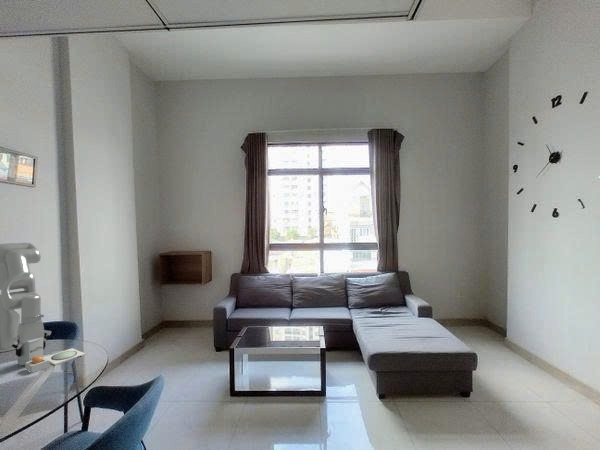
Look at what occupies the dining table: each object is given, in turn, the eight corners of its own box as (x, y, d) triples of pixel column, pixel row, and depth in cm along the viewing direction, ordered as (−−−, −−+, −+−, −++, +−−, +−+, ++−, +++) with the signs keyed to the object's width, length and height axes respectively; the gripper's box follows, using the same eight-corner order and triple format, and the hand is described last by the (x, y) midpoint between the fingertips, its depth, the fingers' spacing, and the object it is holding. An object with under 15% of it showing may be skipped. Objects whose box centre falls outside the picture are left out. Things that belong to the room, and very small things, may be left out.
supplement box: (28, 367, 153) (28, 342, 153) (17, 365, 154) (17, 340, 154) (43, 360, 160) (43, 336, 160) (32, 359, 162) (32, 335, 161)
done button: (30, 364, 151) (30, 358, 151) (40, 360, 154) (40, 355, 154) (34, 366, 149) (34, 360, 149) (44, 362, 152) (44, 356, 152)
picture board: (42, 359, 162) (42, 357, 162) (72, 349, 174) (72, 347, 174) (55, 365, 155) (55, 363, 155) (85, 355, 167) (85, 353, 167)
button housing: (25, 369, 150) (25, 362, 150) (42, 363, 156) (42, 357, 156) (31, 373, 147) (31, 366, 147) (49, 367, 153) (49, 360, 153)
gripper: (47, 314, 166) (47, 345, 166) (5, 323, 151) (5, 357, 151) (54, 316, 163) (54, 347, 163) (12, 325, 148) (12, 360, 148)
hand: (31, 352), depth 157 cm, fingers open, 9 cm apart
